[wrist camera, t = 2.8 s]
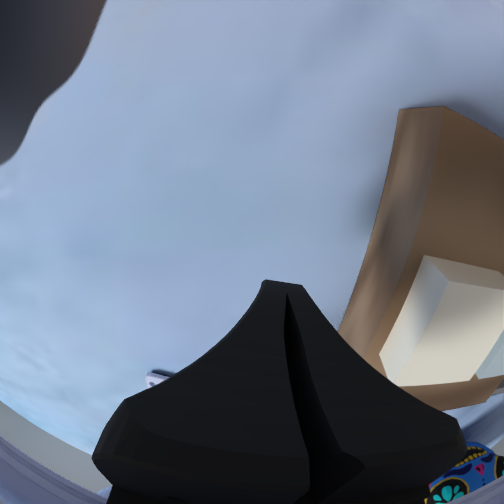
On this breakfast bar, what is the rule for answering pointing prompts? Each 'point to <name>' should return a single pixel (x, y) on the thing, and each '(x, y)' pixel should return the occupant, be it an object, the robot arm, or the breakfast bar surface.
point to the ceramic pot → (467, 474)
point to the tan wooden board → (429, 232)
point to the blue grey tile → (493, 361)
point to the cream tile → (445, 324)
